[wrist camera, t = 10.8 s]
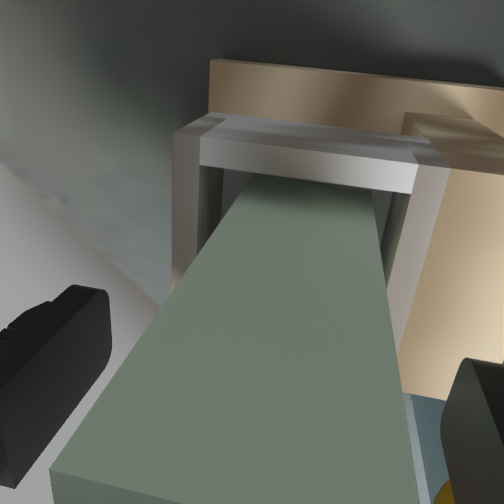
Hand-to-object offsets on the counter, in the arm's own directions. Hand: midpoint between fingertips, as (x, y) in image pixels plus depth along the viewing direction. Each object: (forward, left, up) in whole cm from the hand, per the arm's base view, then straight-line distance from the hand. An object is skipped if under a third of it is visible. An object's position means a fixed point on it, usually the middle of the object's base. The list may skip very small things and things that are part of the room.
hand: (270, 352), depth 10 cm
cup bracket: (-1, 0, -16) cm, 16 cm away
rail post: (0, 0, -7) cm, 7 cm away
